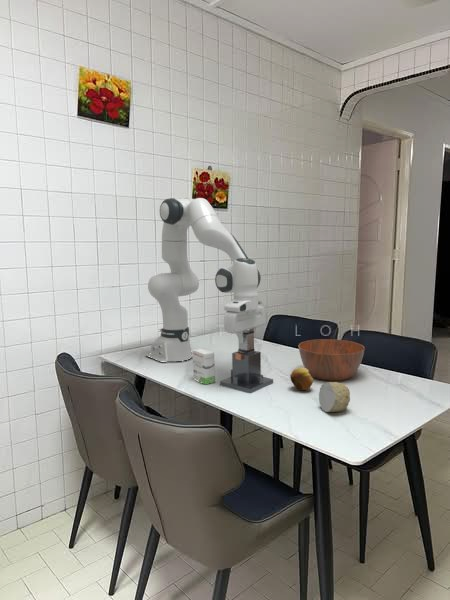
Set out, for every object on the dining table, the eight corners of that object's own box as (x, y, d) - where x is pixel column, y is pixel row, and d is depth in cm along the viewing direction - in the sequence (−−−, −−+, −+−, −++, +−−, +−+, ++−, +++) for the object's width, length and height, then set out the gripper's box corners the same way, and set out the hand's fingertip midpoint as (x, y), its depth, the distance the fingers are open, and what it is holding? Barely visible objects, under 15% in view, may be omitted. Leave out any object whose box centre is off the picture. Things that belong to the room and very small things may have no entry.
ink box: (215, 382, 165) (215, 352, 164) (204, 385, 162) (204, 354, 161) (203, 377, 172) (202, 347, 171) (192, 379, 169) (191, 349, 168)
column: (238, 379, 162) (238, 331, 160) (245, 376, 166) (245, 329, 163) (247, 381, 160) (247, 333, 157) (254, 379, 163) (254, 331, 160)
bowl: (368, 369, 178) (368, 342, 177) (358, 388, 156) (359, 357, 154) (307, 363, 189) (307, 337, 187) (290, 380, 167) (290, 350, 165)
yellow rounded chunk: (307, 386, 139) (333, 370, 141) (319, 413, 140) (345, 398, 143) (321, 393, 130) (349, 377, 132) (334, 423, 131) (361, 406, 133)
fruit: (308, 395, 151) (308, 372, 149) (286, 391, 155) (286, 368, 154) (316, 388, 157) (316, 366, 156) (294, 384, 161) (294, 363, 160)
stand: (220, 385, 162) (219, 352, 160) (243, 376, 173) (243, 345, 171) (250, 393, 153) (250, 358, 151) (273, 383, 164) (273, 350, 162)
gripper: (256, 299, 169) (256, 335, 171) (221, 306, 153) (221, 345, 155) (269, 301, 165) (269, 337, 166) (235, 308, 149) (235, 347, 151)
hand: (246, 341), depth 161 cm, fingers closed on column, 4 cm apart
